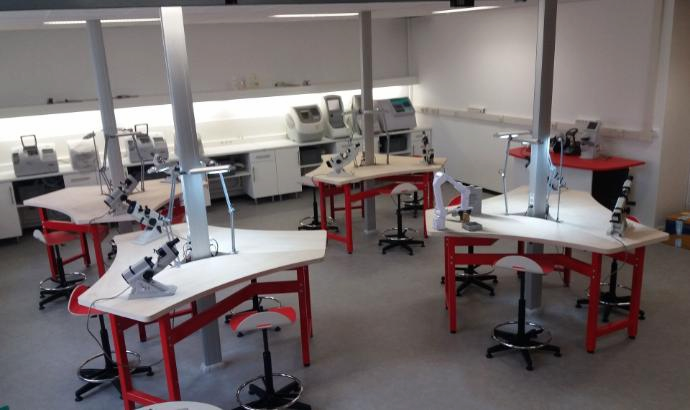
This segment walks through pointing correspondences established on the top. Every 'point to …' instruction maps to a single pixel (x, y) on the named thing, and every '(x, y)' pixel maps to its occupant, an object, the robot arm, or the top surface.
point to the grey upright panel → (475, 199)
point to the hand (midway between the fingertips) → (464, 219)
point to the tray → (471, 226)
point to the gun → (455, 212)
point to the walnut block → (465, 217)
